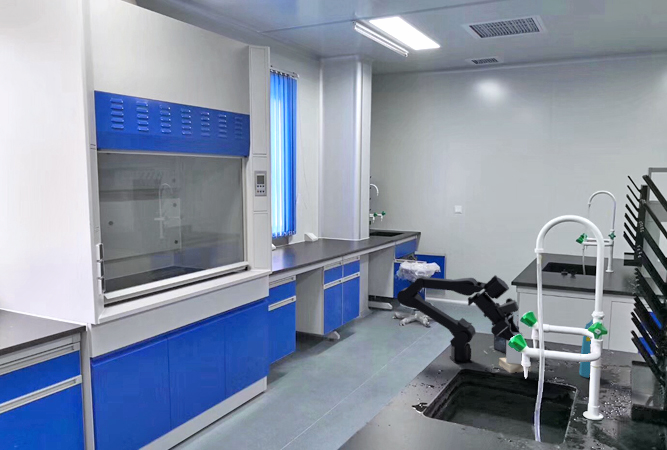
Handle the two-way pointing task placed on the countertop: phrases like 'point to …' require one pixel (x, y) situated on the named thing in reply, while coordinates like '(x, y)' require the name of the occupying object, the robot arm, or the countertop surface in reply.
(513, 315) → the robot arm
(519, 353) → the carton
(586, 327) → the blue plastic bottle
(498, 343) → the box
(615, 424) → the countertop surface
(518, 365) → the block
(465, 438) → the countertop surface
